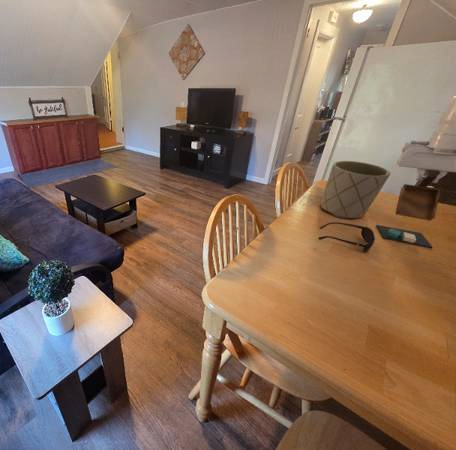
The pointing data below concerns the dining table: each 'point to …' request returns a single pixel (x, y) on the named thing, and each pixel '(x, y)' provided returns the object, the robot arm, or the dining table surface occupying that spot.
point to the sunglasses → (365, 233)
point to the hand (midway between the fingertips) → (426, 181)
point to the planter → (352, 188)
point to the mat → (419, 238)
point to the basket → (419, 199)
